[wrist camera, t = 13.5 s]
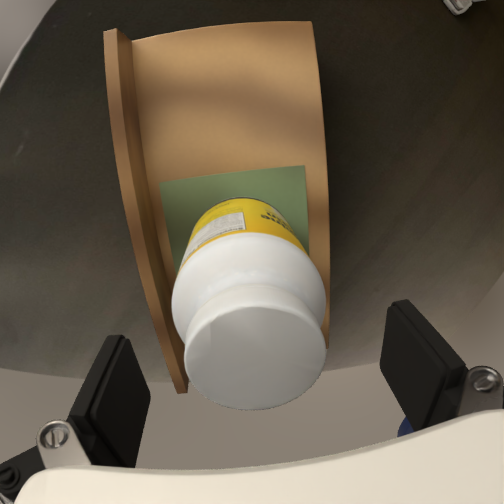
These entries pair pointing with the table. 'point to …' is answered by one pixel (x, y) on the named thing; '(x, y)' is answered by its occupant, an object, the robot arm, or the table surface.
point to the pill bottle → (249, 307)
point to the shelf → (215, 145)
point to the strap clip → (459, 5)
